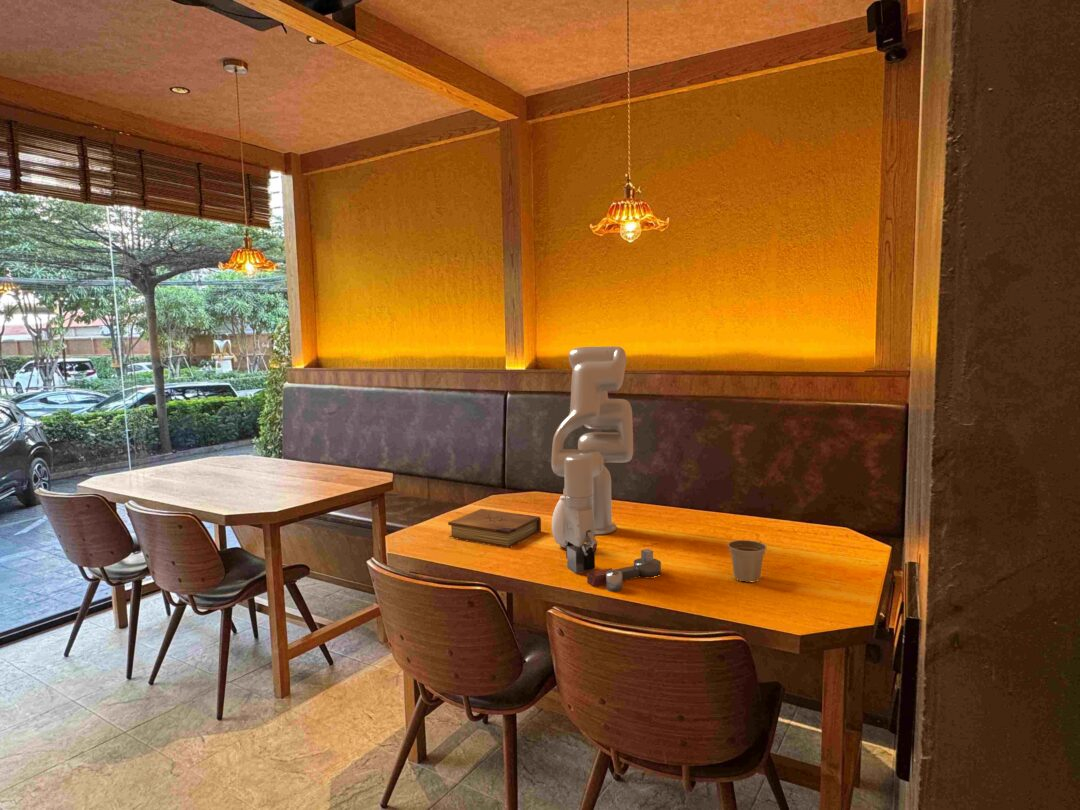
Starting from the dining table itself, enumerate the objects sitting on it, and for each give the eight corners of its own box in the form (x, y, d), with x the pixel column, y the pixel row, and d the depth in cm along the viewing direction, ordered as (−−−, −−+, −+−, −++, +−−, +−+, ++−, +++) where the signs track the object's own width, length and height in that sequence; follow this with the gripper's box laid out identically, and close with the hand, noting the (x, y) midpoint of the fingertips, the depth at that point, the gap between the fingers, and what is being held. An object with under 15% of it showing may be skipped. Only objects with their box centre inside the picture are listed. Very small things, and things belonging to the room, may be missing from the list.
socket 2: (603, 587, 162) (602, 571, 162) (617, 584, 164) (616, 568, 164) (611, 593, 159) (611, 576, 158) (625, 590, 160) (625, 573, 160)
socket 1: (567, 567, 177) (566, 545, 176) (584, 564, 179) (583, 542, 178) (576, 574, 172) (575, 550, 172) (593, 570, 174) (593, 547, 174)
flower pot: (736, 569, 172) (736, 537, 172) (772, 577, 167) (772, 544, 166) (721, 580, 165) (721, 546, 164) (758, 588, 159) (758, 554, 158)
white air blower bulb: (576, 551, 190) (575, 490, 188) (550, 550, 192) (548, 490, 190) (580, 543, 198) (579, 484, 196) (554, 542, 199) (553, 484, 198)
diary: (541, 533, 211) (540, 516, 211) (509, 550, 195) (508, 531, 195) (483, 524, 223) (482, 507, 222) (448, 539, 207) (448, 521, 206)
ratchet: (583, 580, 168) (583, 556, 167) (650, 567, 176) (650, 544, 175) (597, 589, 161) (596, 565, 161) (666, 575, 170) (666, 552, 169)
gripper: (552, 496, 180) (553, 556, 182) (581, 510, 164) (583, 576, 166) (576, 493, 183) (577, 552, 185) (607, 506, 167) (608, 571, 169)
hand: (580, 563), depth 175 cm, fingers open, 9 cm apart
